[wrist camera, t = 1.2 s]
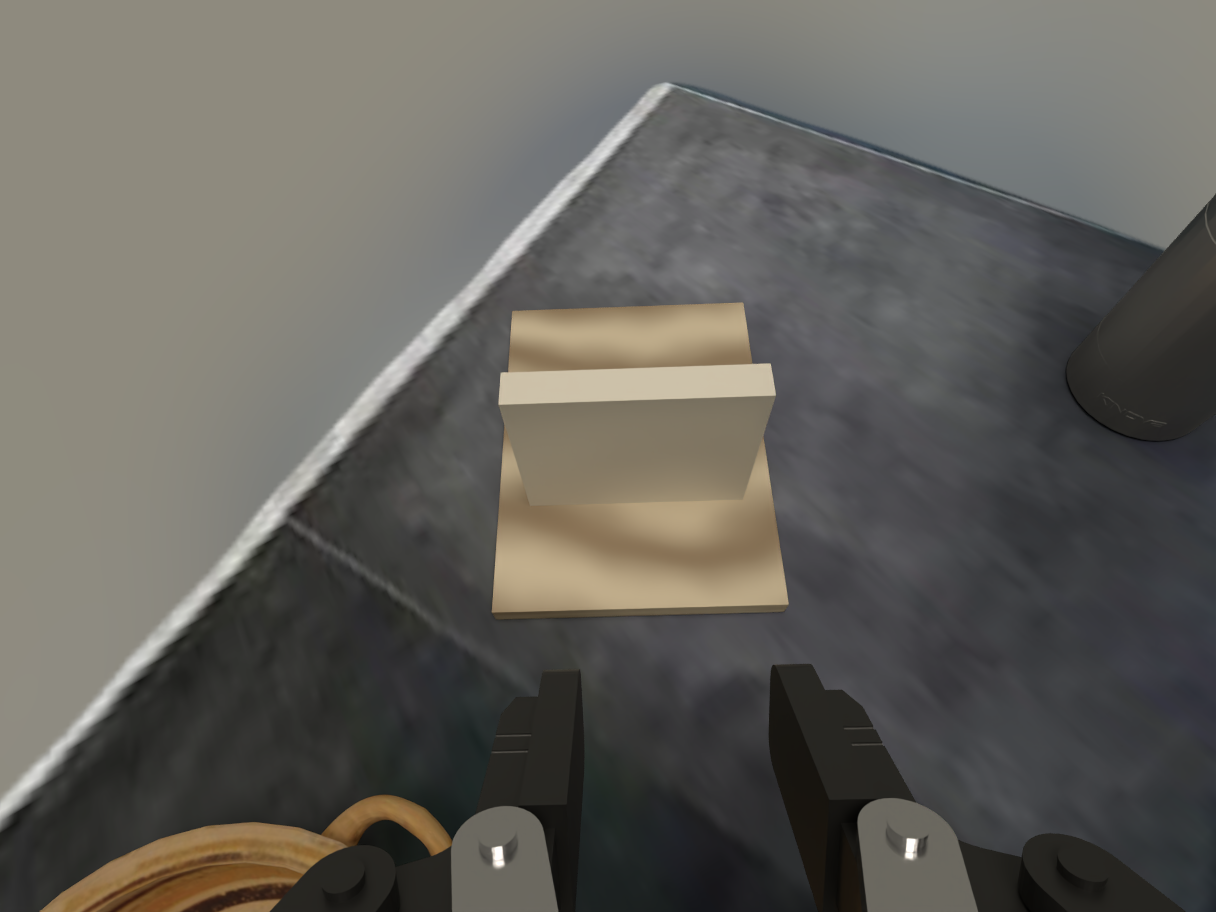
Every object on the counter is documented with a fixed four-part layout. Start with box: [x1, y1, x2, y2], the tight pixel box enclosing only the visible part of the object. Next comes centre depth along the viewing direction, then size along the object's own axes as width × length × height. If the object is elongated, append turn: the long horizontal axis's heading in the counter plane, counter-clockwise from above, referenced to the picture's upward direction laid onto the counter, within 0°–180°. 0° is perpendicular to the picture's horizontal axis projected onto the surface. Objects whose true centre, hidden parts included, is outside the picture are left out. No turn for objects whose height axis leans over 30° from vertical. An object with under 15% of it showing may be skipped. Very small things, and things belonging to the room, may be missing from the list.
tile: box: [499, 364, 776, 506], centre depth 40 cm, size 14×2×12 cm, turn 91°
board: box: [492, 303, 789, 619], centre depth 48 cm, size 24×18×2 cm
